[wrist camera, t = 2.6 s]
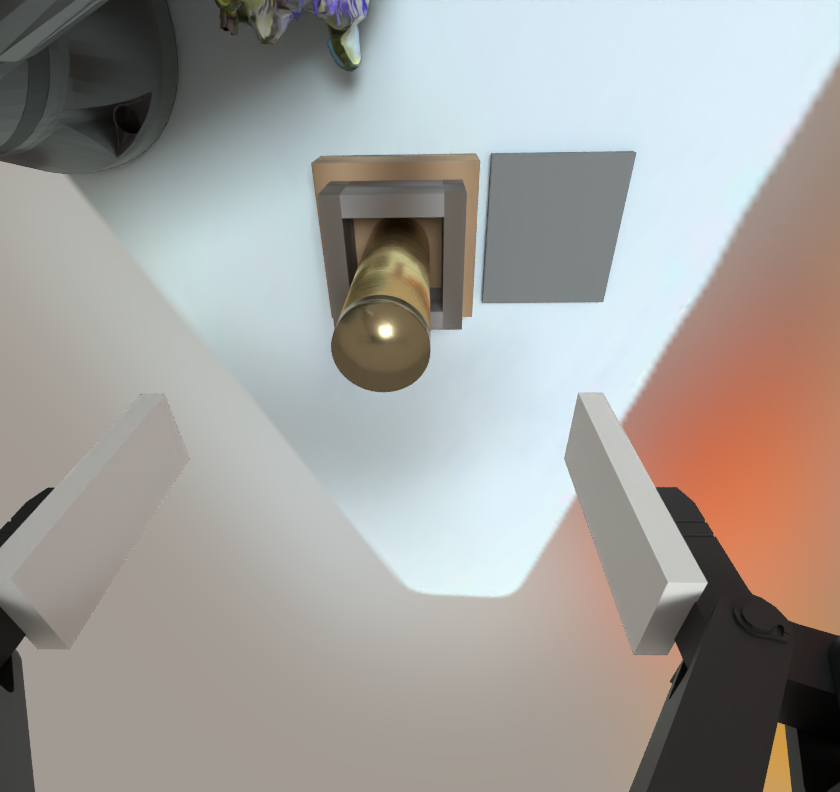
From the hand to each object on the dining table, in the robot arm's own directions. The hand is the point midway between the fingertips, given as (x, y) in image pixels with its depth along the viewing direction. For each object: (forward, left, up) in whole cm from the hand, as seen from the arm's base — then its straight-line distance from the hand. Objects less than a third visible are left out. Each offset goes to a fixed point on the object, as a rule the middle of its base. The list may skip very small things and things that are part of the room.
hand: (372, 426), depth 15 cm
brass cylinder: (0, 0, -19) cm, 19 cm away
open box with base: (0, 0, -22) cm, 22 cm away
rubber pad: (+10, 0, -22) cm, 24 cm away
